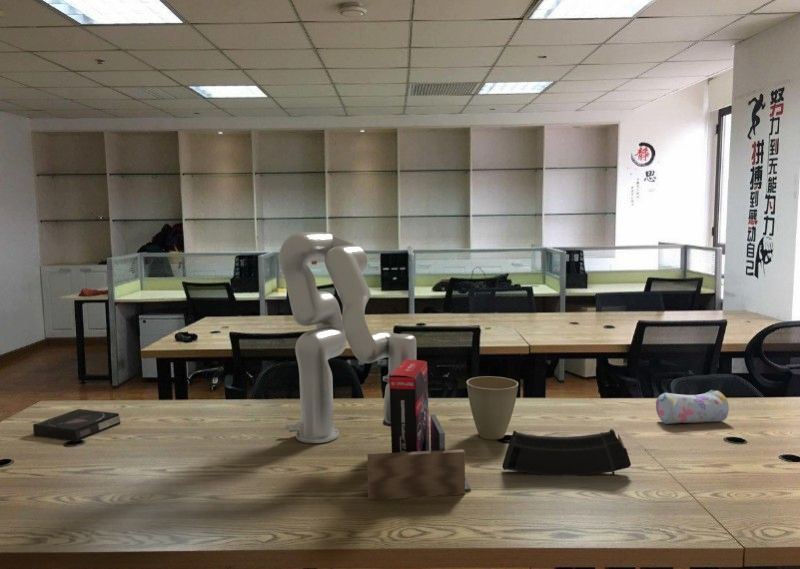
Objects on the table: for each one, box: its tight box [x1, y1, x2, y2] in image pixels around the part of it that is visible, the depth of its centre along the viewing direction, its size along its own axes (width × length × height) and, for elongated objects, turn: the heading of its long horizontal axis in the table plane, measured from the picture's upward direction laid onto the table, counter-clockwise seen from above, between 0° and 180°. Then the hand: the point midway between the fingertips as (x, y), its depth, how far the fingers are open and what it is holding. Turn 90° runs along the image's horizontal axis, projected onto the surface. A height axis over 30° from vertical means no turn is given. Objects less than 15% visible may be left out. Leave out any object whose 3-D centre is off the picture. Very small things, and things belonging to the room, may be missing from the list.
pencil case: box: [655, 389, 730, 425], centre depth 185 cm, size 21×9×10 cm, turn 100°
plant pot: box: [466, 375, 519, 441], centre depth 174 cm, size 15×15×16 cm
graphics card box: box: [388, 359, 431, 453], centre depth 146 cm, size 17×7×27 cm, turn 168°
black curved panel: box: [501, 428, 632, 476], centre depth 147 cm, size 17×3×30 cm
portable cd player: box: [32, 408, 121, 442], centre depth 184 cm, size 16×17×4 cm
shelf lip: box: [367, 448, 466, 501], centre depth 135 cm, size 22×2×10 cm, turn 96°
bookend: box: [429, 414, 472, 492], centre depth 144 cm, size 7×14×14 cm, turn 6°
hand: (402, 445), depth 163 cm, fingers closed
